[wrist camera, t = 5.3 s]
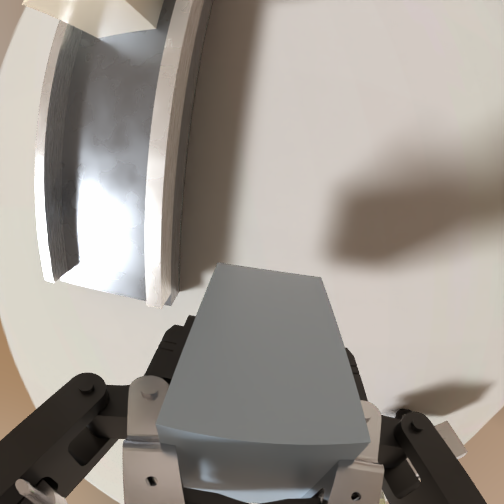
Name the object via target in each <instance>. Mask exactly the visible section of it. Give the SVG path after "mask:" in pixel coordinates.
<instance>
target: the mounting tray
mask: <svg viewBox="0 0 504 504" xmlns="http://www.w3.org/2000/svg"><path fill="white" fill-rule="evenodd" d="M212 3H213V0H164V2H163V5H162V9H161V12H160V16H159V19H158V23H157V27H156V29H149V30H142V31H135V32H128V33H122V34H117V35H112V36H107V37H102V38H96V37H95V36H93V35H91V34H89V33H87V32H85V31H83V30H81V29H79V28H76V27H74V26H72V25H70V24H68V23H66V22H64V21H61V20H60V21H59V24H58V27H57V30H56V33H55V37H54V40H53V43H52V47H51V51H50V55H49V59H48V63H47V67H46V72H45V77H44V82H43V87H42V93H41V99H40V106H39V114H38V122H37V133H36V148H35V204H36V219H37V230H38V239H39V247H40V254H41V261H42V267H43V273H44V278H45V280H46V281H49V282H53V283H54V282H55V281H57V280H58V279H59V278H60V277H61V281H64V282H68V283H72V284H75V285H79V286H83V287H87V288H91V289H95V290H99V291H103V292H108V293H112V294H116V295H121V296H125V297H130V298H134V299H139V300H144V301H146V302H147V306H149V307H154V308H159V309H162V307H163V306H164V305H169V306H171V305H172V303H173V302H174V300H175V298H176V296H177V295H178V293H179V263H180V238H181V219H182V204H183V191H184V179H185V168H186V158H187V149H188V140H189V132H190V124H191V116H192V109H193V102H194V95H195V89H196V83H197V77H198V71H199V65H200V60H201V54H202V49H203V44H204V39H205V34H206V29H207V25H208V20H209V16H210V11H211V7H212Z"/></svg>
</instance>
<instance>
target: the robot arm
mask: <svg viewBox="0 0 504 504" xmlns="http://www.w3.org/2000/svg"><path fill="white" fill-rule="evenodd" d="M195 317H196V316H191V315H189V316H188V318H187V320H186V323H185V325H184V326H179V325H174V326H172V327H171V328H170V329H168V330H167V331H166V332H165V334H164V336H163V338H162V342H160V344H159V346H158V349H157V350H156V353H155V355H154V357H153V359H152V361H151V363H150V365H149V367H148V369H147V371H146V373H145V375H144V376H142V377H139V378H137V379H135V380H134V381H133V382H132V383H131V385H124V386H120V385H106V384H105V382H104V380H103V379H102V378H101V377H100V376H98V375H96V374H93V373H81V374H78V375H76V376H75V377H74V378H72V379H71V380H70V381H69V382H68V383H66V384H65V385H64V386H63V387H62V388H61V389H59V390H58V391H57V392H56V393H55V394H54V395H52V396H51V397H50V398H49V399H48V400H47V401H45V402H44V403H43V404H42V405H41V406H40V407H38V408H37V409H36V410H35V411H34V412H33V413H32V414H31V415H29V416H28V417H27V418H26V419H25V420H23V421H22V422H21V423H20V424H19V425H18V426H17V427H16V428H14V429H13V430H12V431H11V432H10V433H9V434H8V435H6V436H5V437H4V438H3V439H2V440H1V441H0V504H68V503H67V502H66V500H65V498H66V497H67V496H68V495H69V494H70V493H71V492H72V491H73V489H74V488H75V487H76V486H77V485H78V484H79V483H80V482H81V481H82V479H83V478H84V477H85V476H86V475H87V474H88V473H89V472H90V471H91V470H92V468H93V467H94V466H95V465H96V464H97V463H98V462H99V461H100V459H101V458H102V457H103V456H104V455H105V454H106V453H107V452H108V450H109V449H110V448H111V447H112V446H113V445H114V444H115V442H116V441H117V440H118V439H126V440H124V442H123V488H124V503H125V504H249V503H246V502H242V501H239V500H236V499H233V498H230V497H227V496H224V495H222V494H219V493H214V492H208V491H202V490H197V489H192V488H187V487H184V485H183V480H182V476H181V471H180V466H179V461H178V455H177V450H176V446H175V445H170V444H164V443H160V440H159V436H158V432H157V428H156V421H157V418H158V415H159V413H160V410H161V407H162V404H163V402H164V399H165V396H166V393H167V391H168V388H169V385H170V383H171V380H172V377H173V375H174V372H175V369H176V367H177V364H178V361H179V359H180V356H181V353H182V351H183V348H184V346H185V343H186V340H187V338H188V335H189V333H190V330H191V328H192V325H193V323H194V320H195ZM345 350H346V353H347V357H348V360H349V363H350V367H351V370H352V373H353V377H354V380H355V383H356V387H357V390H358V394H359V398H360V401H361V405H362V408H363V412H364V416H365V420H366V424H367V427H368V431H369V435H370V439H371V443H370V444H369V445H368V446H367V447H366V448H365V449H364V450H363V451H362V452H361V454H360V455H359V456H358V457H357V458H356V459H355V460H338V461H337V463H336V464H335V465H334V466H333V467H332V468H331V469H330V470H329V471H328V472H327V473H326V474H325V475H324V476H323V477H322V478H321V479H320V480H319V481H318V482H317V483H316V484H315V485H314V486H313V487H312V488H311V489H310V490H309V491H308V492H307V493H306V494H305V495H304V496H303V497H301V498H295V499H283V500H278V501H273V502H267V503H260V504H379V502H380V496H381V490H383V492H384V494H385V496H386V498H387V500H388V502H389V504H487V503H486V502H485V500H484V499H483V497H482V496H481V494H480V492H479V491H478V489H477V488H476V486H475V485H474V483H473V482H472V480H471V479H470V477H469V476H468V474H467V473H466V471H465V470H464V468H463V467H462V465H461V464H460V462H459V461H458V459H457V458H456V457H455V455H454V454H453V452H452V451H451V449H450V448H449V447H448V445H447V444H446V442H445V441H444V439H443V438H442V437H441V435H440V434H439V432H438V431H437V430H436V428H435V427H434V426H433V424H432V423H431V421H430V420H429V419H428V418H427V417H426V416H425V415H423V414H421V413H419V412H410V413H407V414H406V415H404V417H403V418H402V419H396V418H391V417H387V416H383V415H381V413H380V411H379V409H378V408H377V407H376V406H375V405H374V404H372V403H370V402H368V400H367V397H366V393H365V390H364V387H363V383H362V380H361V377H360V375H359V371H358V367H357V364H356V361H355V358H354V356H353V355H352V353H351V352H350V351H349V350H348V349H347V348H345ZM407 458H408V459H409V460H410V462H411V464H412V465H413V467H414V468H415V470H416V472H417V473H418V475H419V477H420V479H421V482H420V481H419V479H418V478H417V476H416V474H415V473H414V471H413V469H412V468H411V466H410V464H409V463H408V461H407V460H406V459H407Z"/></svg>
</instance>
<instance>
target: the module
mask: <svg viewBox="0 0 504 504" xmlns="http://www.w3.org/2000/svg"><path fill="white" fill-rule="evenodd" d="M156 428H157V432H158V436H159V440H160V443H164V444H170V445H175V446H176V450H177V455H178V461H179V466H180V471H181V476H182V480H183V485H184V487H187V488H192V489H197V490H202V491H208V492H214V493H219V494H222V495H224V496H227V497H230V498H233V499H236V500H239V501H242V502H250V503H267V502H273V501H278V500H283V499H295V498H301V497H303V496H304V495H305V494H306V493H307V492H308V491H309V490H310V489H311V488H312V487H313V486H314V485H315V484H316V483H317V482H318V481H319V480H320V479H321V478H322V477H323V476H324V475H325V474H326V473H327V472H328V471H329V470H330V469H331V468H332V467H333V466H334V465H335V464H336V463H337V461H338V460H355V459H356V458H357V457H358V456H359V455H360V454H361V452H362V451H363V450H364V449H365V448H366V447H367V446H368V445H369V444H370V443H371V439H370V435H369V431H368V427H367V424H366V420H365V416H364V412H363V408H362V405H361V401H360V398H359V394H358V390H357V387H356V383H355V380H354V377H353V373H352V370H351V367H350V363H349V360H348V357H347V353H346V350H345V347H344V344H343V341H342V338H341V334H340V331H339V328H338V325H337V322H336V319H335V316H334V313H333V310H332V307H331V304H330V301H329V299H328V296H327V293H326V290H325V287H324V284H323V282H322V279H321V277H314V276H307V275H300V274H293V273H285V272H278V271H272V270H265V269H258V268H251V267H244V266H237V265H231V264H224V263H217V265H216V268H215V270H214V273H213V275H212V278H211V280H210V283H209V285H208V287H207V290H206V292H205V295H204V297H203V300H202V302H201V305H200V307H199V310H198V312H197V315H196V317H195V320H194V323H193V325H192V328H191V330H190V333H189V335H188V338H187V340H186V343H185V346H184V348H183V351H182V353H181V356H180V359H179V361H178V364H177V367H176V369H175V372H174V375H173V377H172V380H171V383H170V385H169V388H168V391H167V393H166V396H165V399H164V402H163V404H162V407H161V410H160V413H159V415H158V418H157V421H156Z"/></svg>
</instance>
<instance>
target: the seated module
mask: <svg viewBox="0 0 504 504" xmlns="http://www.w3.org/2000/svg"><path fill="white" fill-rule="evenodd" d="M163 2H164V0H24V1H23V3H22V5H25V6H27V7H30V8H33V9H35V10H38V11H40V12H43V13H45V14H48V15H50V16H52V17H55V18H57V19H59V20H61V21H64V22H66V23H68V24H70V25H72V26H74V27H76V28H79V29H81V30H83V31H85V32H87V33H89V34H91V35H93V36H95V37H96V38H102V37H107V36H112V35H117V34H122V33H128V32H135V31H142V30H149V29H156V27H157V23H158V19H159V16H160V12H161V9H162V5H163Z"/></svg>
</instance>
